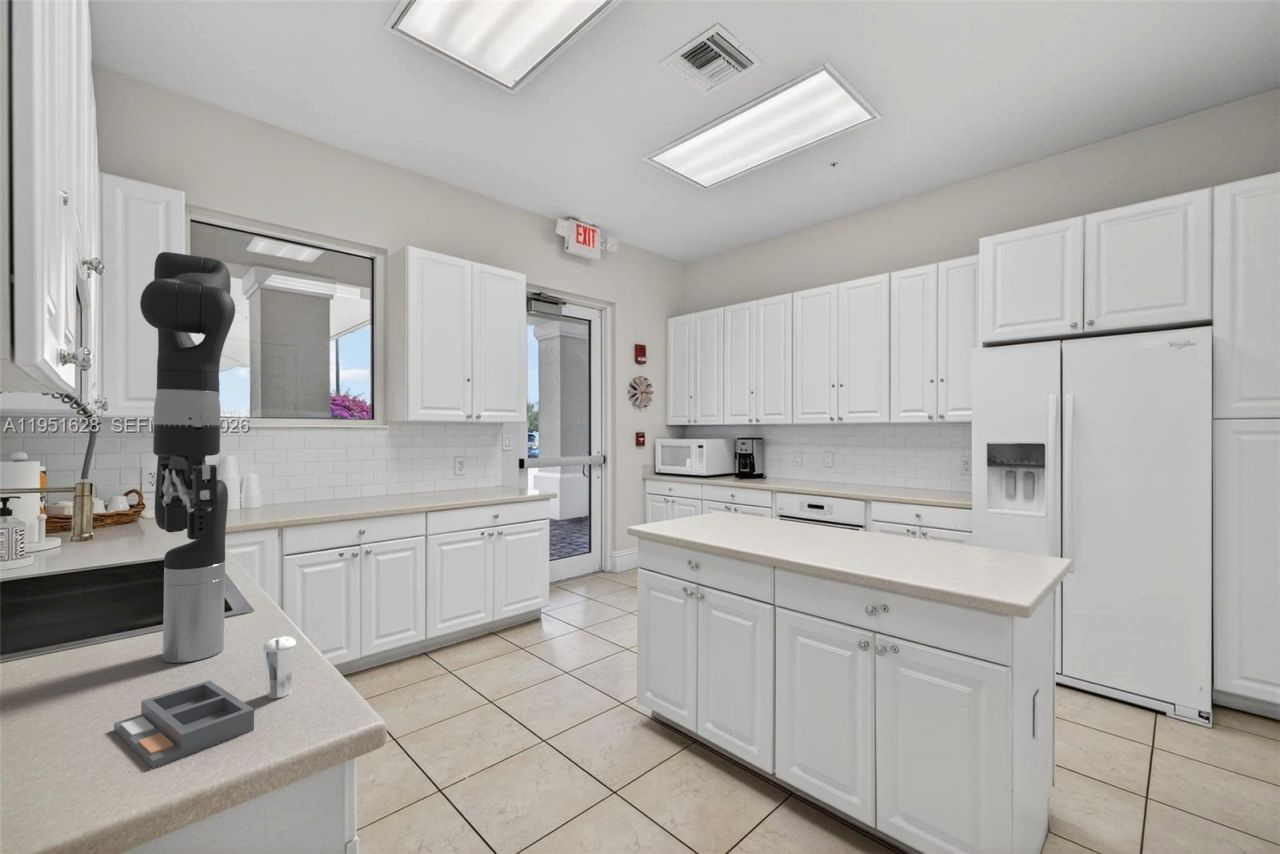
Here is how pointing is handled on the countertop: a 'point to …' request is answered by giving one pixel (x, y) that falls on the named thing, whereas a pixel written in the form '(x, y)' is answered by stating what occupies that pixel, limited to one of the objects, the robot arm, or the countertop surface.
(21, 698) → the countertop surface
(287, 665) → the milkshake
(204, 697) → the dock
